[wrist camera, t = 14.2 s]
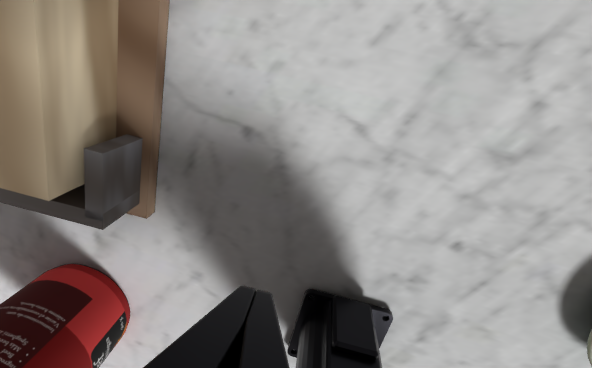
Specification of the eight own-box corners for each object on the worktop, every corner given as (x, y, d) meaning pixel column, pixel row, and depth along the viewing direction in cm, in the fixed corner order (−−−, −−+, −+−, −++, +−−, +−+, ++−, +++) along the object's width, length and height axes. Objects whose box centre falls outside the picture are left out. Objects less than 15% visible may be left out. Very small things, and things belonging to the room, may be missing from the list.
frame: (154, 212, 22) (112, 247, 17) (45, 183, 22) (-23, 211, 18) (185, -224, 13) (120, -354, 9) (10, -267, 14) (-132, -415, 9)
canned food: (90, 348, 28) (-51, 515, 17) (24, 282, 25) (-181, 428, 15) (153, 320, 25) (34, 490, 15) (86, 245, 23) (-103, 385, 13)
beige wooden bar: (121, -163, 14) (13, -279, 9) (115, 168, 20) (48, 200, 15) (45, -182, 14) (-100, -307, 9) (62, 154, 20) (-21, 182, 15)
